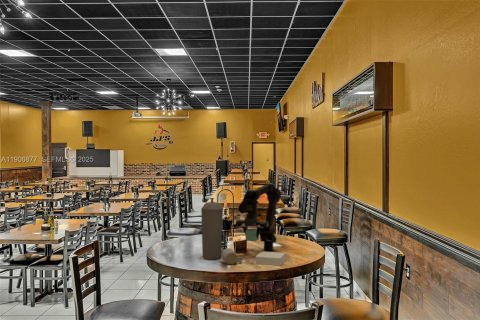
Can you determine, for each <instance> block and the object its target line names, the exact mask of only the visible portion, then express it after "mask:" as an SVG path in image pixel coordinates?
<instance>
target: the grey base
mask: <svg viewBox="0 0 480 320" xmlns="http://www.w3.org/2000/svg"><path fill="white" fill-rule="evenodd" d="M286 259H287V253H286V252H278V251H277V252H276V251H274V252H264V251H263V250H262V251H260V252H259V253H258V254H257V255H256V256H255V259H254V260H255V262H254V263H255V265H267V266H277V267H278V266H279V267H281V266H282V265H283V264H284V263H285V261H287V260H286Z"/></svg>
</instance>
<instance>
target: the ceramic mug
mask: <svg viewBox="0 0 480 320" xmlns="http://www.w3.org/2000/svg"><path fill="white" fill-rule="evenodd" d="M221 259H222V260H223V262H225V263H226V264H228V265H235V264H236V263H238V264H241V263H242V262H243V260H242V259H240V258H239V257H238V254H237V252H236V251H234V250H233V249H232V248H228V247H227V248H225V249H224V250H222V251H221Z"/></svg>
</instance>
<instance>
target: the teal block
mask: <svg viewBox="0 0 480 320" xmlns="http://www.w3.org/2000/svg"><path fill="white" fill-rule="evenodd" d="M259 238H260V236H259V237H258V239H257V228H248V229H247V230H246V235H245V242H246V241H247V242H256V241H258V240H259Z"/></svg>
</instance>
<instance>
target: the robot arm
mask: <svg viewBox="0 0 480 320" xmlns="http://www.w3.org/2000/svg"><path fill="white" fill-rule="evenodd" d="M264 194H266V200H267V201H268V206H267V209H266V216H265V220H261V221H260V222H259V221H258V204H260V202H259V201H258V200H259V199H260V198H261V196H263V195H264ZM281 197H282V192H281V191H280V189H279V188H277V187H275V186H274V185H273V184H271V183H266V184H264V185H262V186H260V187H258V188H255V189H247V190H246V192H245V193H244V195H243V199H242V201H240V204H239V205H238V208H237V209H238V210H237V211H239V213H241V214H246V217H245V219H244V220H243V219H238V220H236V222H235V226H236V227H240V228H241V229H242V230H243V232H244V235H245V236H246V230H247V229H249V227H253V226H257V227H256V229H257V239H258V237H259V238H260V242H263V250H262V251H264V252H276V251H275V249H274V243H276V242H277V237H276V235H275V229H274V227H273V225H274V221H275V220H274V219H275V214H276V209H277V204H278V203H279V202H280V200H281ZM258 240H259V239H258Z"/></svg>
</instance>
